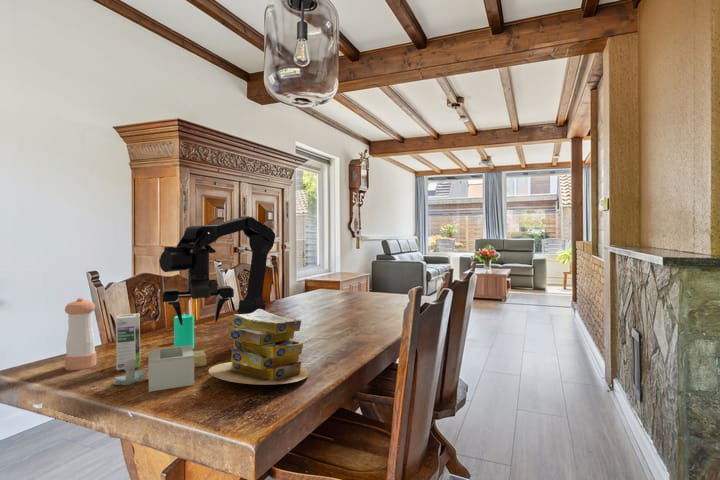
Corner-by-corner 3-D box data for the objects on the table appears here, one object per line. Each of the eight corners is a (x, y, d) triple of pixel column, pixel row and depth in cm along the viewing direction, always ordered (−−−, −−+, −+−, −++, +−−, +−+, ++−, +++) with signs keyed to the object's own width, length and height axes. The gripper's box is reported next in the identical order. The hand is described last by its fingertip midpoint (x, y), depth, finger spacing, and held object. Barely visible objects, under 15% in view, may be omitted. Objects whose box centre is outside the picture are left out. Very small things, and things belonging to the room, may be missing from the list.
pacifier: (107, 385, 99) (118, 389, 96) (106, 359, 99) (118, 363, 96) (137, 376, 105) (149, 380, 102) (136, 352, 105) (148, 356, 102)
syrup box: (115, 371, 108) (115, 317, 108) (117, 364, 114) (117, 313, 113) (139, 367, 111) (139, 315, 111) (140, 361, 116) (140, 312, 116)
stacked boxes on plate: (269, 357, 121) (269, 302, 120) (327, 376, 105) (327, 313, 104) (190, 380, 102) (190, 315, 102) (246, 408, 86) (246, 330, 85)
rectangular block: (203, 360, 118) (203, 350, 118) (206, 366, 113) (206, 355, 113) (192, 361, 117) (191, 351, 117) (194, 367, 112) (194, 357, 112)
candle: (186, 351, 126) (186, 313, 126) (170, 350, 127) (169, 312, 127) (198, 346, 132) (197, 310, 132) (181, 345, 133) (181, 309, 133)
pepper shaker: (68, 363, 114) (68, 297, 114) (98, 360, 117) (98, 295, 117) (61, 372, 107) (60, 301, 107) (93, 368, 110) (92, 299, 110)
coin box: (191, 371, 108) (191, 345, 107) (194, 384, 99) (194, 355, 99) (149, 377, 103) (149, 350, 103) (148, 391, 94) (148, 361, 94)
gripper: (162, 273, 103) (162, 333, 103) (236, 270, 112) (237, 325, 112) (162, 269, 113) (162, 324, 113) (230, 267, 121) (230, 318, 122)
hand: (198, 323), depth 115 cm, fingers open, 9 cm apart
